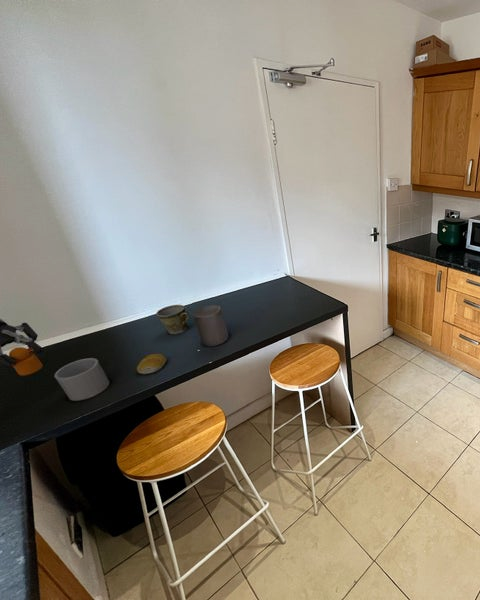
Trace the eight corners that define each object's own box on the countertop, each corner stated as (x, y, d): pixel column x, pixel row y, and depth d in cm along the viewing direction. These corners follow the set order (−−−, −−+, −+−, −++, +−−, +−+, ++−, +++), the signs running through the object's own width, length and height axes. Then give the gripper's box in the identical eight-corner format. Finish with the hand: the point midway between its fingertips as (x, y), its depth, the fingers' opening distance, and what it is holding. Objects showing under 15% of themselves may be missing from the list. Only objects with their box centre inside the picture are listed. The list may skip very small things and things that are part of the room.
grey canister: (197, 342, 128) (186, 310, 121) (220, 330, 136) (210, 300, 129) (211, 349, 124) (200, 316, 117) (234, 337, 131) (224, 305, 124)
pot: (85, 402, 99) (71, 381, 95) (60, 398, 101) (45, 376, 96) (117, 381, 108) (105, 360, 103) (93, 377, 109) (81, 356, 105)
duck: (27, 376, 95) (11, 354, 91) (14, 374, 96) (-3, 352, 92) (49, 364, 100) (34, 343, 96) (36, 362, 101) (22, 341, 97)
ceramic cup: (158, 335, 133) (150, 315, 128) (176, 323, 141) (169, 303, 137) (186, 337, 131) (178, 317, 126) (203, 325, 140) (196, 305, 135)
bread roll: (170, 357, 119) (166, 348, 117) (161, 372, 112) (157, 363, 110) (144, 361, 117) (140, 352, 115) (134, 376, 110) (129, 367, 108)
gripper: (-61, 326, 85) (-2, 367, 88) (8, 302, 97) (57, 338, 100) (-61, 340, 88) (-5, 379, 91) (5, 315, 101) (53, 350, 104)
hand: (27, 357), depth 96 cm, fingers closed on duck, 5 cm apart
